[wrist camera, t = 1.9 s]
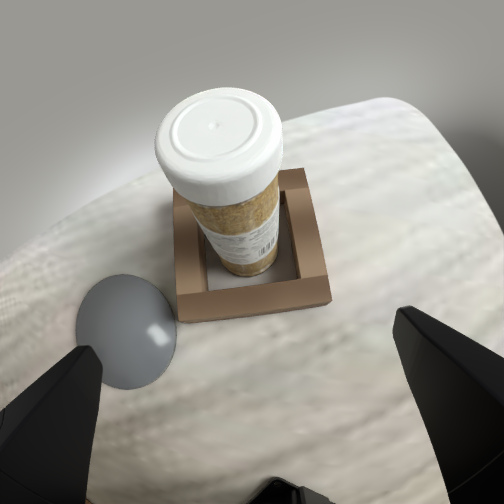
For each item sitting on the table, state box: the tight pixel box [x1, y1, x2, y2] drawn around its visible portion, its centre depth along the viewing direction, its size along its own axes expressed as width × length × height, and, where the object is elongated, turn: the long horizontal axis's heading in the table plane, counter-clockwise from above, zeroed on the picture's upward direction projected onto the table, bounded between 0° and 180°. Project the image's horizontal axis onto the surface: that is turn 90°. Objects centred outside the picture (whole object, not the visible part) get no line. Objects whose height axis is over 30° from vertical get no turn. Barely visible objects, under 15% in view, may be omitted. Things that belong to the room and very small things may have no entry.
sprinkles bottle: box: [155, 88, 283, 276], centre depth 15 cm, size 5×5×13 cm
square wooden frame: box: [173, 168, 332, 323], centre depth 21 cm, size 10×10×2 cm
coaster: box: [76, 274, 177, 390], centre depth 20 cm, size 9×9×1 cm
